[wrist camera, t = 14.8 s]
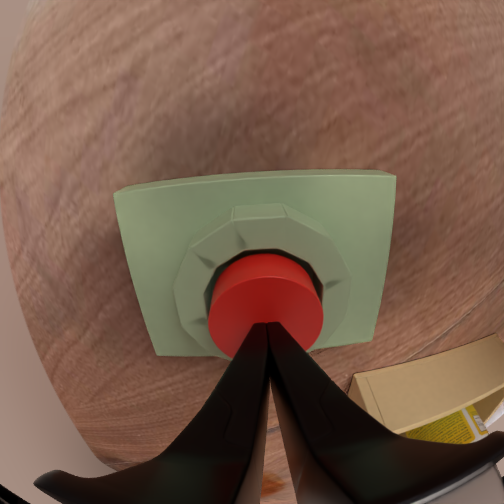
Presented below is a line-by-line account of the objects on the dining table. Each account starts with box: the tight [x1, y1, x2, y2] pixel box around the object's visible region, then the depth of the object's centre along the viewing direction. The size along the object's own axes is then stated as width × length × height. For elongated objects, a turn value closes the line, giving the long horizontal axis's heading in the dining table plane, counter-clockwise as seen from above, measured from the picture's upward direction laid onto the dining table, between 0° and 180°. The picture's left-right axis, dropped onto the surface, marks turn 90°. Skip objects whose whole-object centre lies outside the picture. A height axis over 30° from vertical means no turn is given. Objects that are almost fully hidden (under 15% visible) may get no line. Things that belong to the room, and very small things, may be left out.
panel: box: [113, 169, 396, 361], centre depth 12 cm, size 12×9×4 cm
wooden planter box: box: [348, 333, 504, 438], centre depth 17 cm, size 16×10×6 cm, turn 94°
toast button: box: [208, 253, 324, 359], centre depth 10 cm, size 4×4×2 cm
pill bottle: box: [405, 404, 489, 444], centre depth 14 cm, size 6×6×11 cm
